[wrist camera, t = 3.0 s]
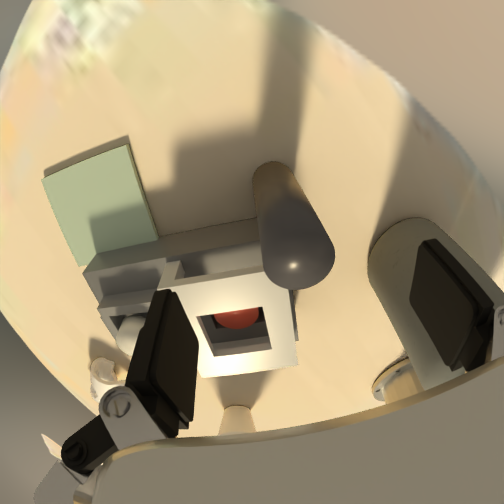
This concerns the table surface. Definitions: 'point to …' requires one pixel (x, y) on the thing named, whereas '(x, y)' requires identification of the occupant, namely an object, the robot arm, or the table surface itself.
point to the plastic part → (103, 378)
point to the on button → (129, 333)
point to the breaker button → (237, 318)
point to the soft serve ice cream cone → (236, 421)
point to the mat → (100, 204)
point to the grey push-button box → (204, 294)
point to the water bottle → (399, 286)
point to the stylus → (289, 230)
